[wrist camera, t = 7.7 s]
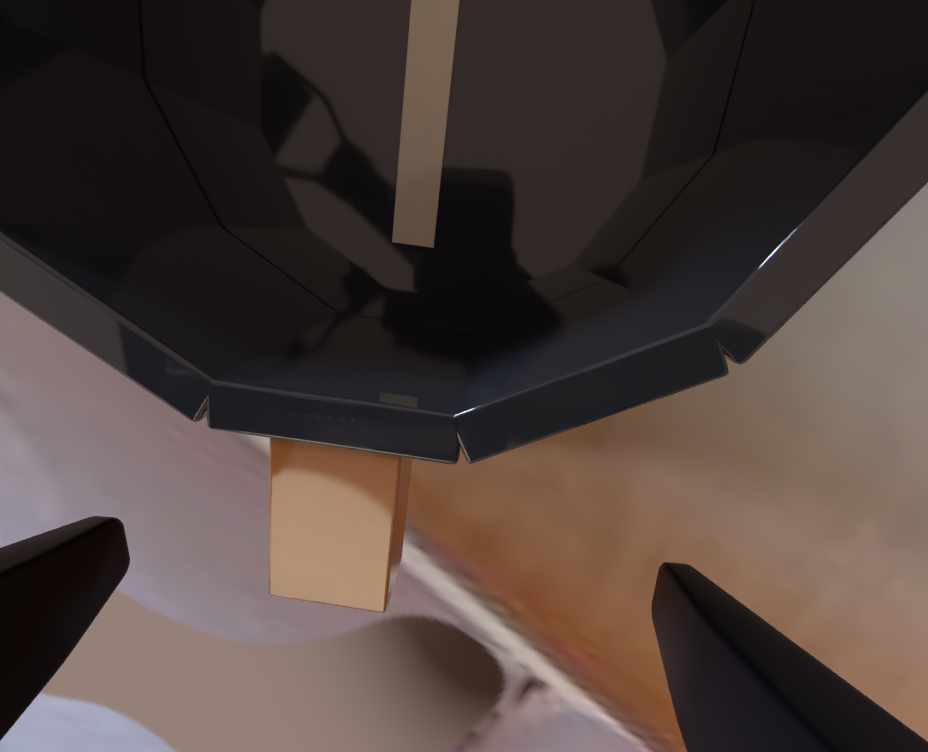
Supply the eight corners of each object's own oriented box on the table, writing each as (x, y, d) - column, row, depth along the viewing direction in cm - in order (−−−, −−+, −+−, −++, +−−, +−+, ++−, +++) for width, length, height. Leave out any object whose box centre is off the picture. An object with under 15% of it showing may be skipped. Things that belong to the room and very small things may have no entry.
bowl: (645, 481, 14) (766, 683, 8) (159, 409, 14) (-104, 548, 8) (881, -376, 8) (1890, -1968, 2) (98, -458, 9) (-815, -2037, 3)
